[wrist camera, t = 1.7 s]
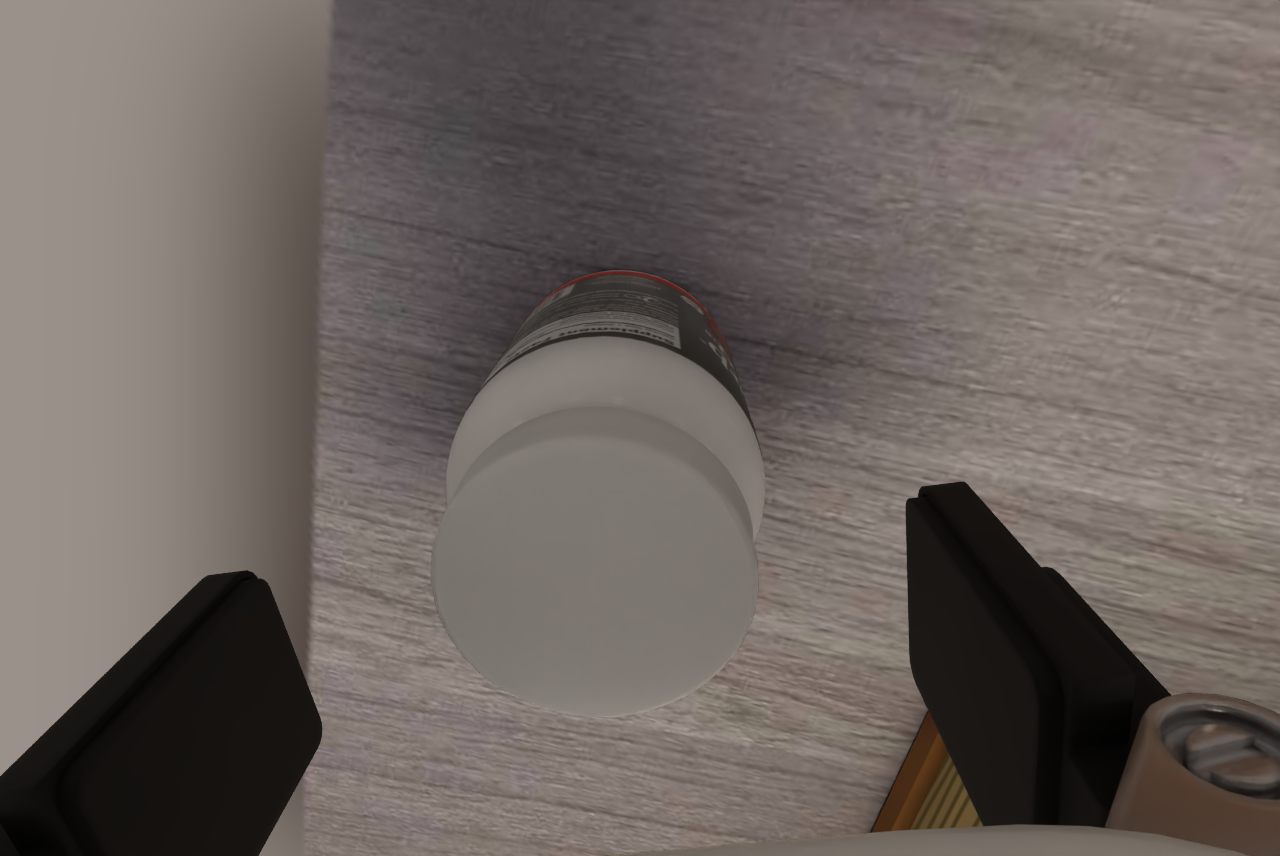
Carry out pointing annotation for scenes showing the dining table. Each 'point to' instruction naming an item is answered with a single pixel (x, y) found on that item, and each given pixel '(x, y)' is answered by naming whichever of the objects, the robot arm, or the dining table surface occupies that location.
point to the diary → (927, 789)
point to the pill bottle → (603, 504)
